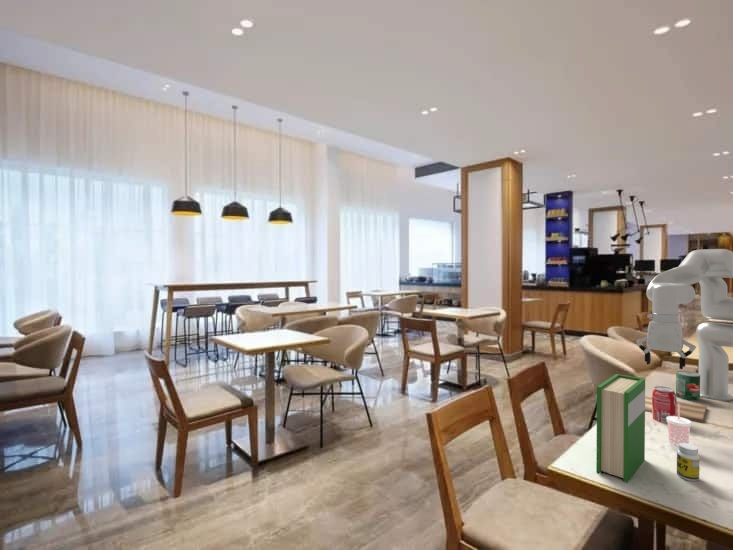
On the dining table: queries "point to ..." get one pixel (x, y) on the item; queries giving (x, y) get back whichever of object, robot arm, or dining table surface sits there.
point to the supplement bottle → (688, 462)
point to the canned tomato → (688, 385)
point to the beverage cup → (678, 430)
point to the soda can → (663, 403)
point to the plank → (691, 411)
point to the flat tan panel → (648, 403)
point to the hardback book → (620, 426)
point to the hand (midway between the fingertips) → (664, 366)
